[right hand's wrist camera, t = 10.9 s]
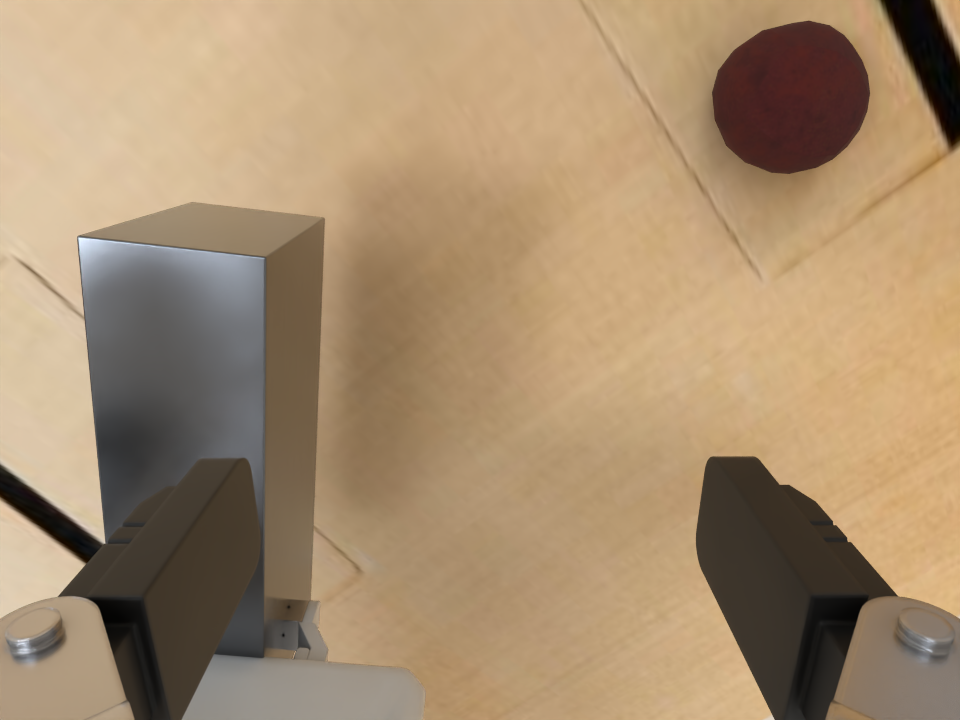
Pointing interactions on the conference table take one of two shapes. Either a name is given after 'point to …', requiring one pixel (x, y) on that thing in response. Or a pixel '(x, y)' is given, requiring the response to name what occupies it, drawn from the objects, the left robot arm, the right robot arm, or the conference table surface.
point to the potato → (791, 97)
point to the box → (212, 377)
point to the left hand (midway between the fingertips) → (231, 603)
